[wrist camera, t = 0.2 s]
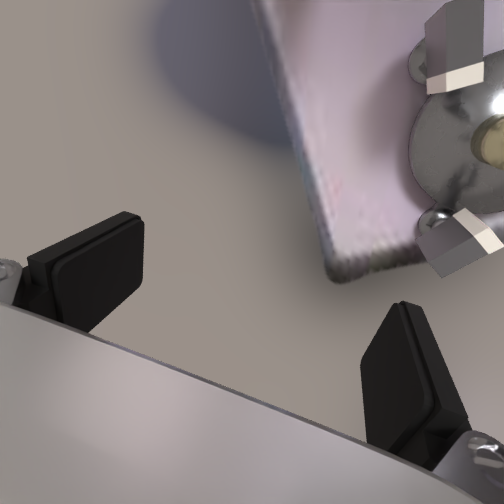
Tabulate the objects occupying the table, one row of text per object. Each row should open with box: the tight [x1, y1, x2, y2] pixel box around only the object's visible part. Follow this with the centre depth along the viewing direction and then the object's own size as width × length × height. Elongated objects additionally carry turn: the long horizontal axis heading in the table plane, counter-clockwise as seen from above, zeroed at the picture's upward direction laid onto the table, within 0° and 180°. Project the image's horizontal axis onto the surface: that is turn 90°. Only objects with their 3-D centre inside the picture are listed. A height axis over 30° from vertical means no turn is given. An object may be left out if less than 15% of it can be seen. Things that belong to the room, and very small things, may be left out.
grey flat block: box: [424, 0, 484, 94], centre depth 26 cm, size 2×6×8 cm, turn 16°
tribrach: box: [408, 38, 504, 235], centre depth 30 cm, size 21×23×7 cm
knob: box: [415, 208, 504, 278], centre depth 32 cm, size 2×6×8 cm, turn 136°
